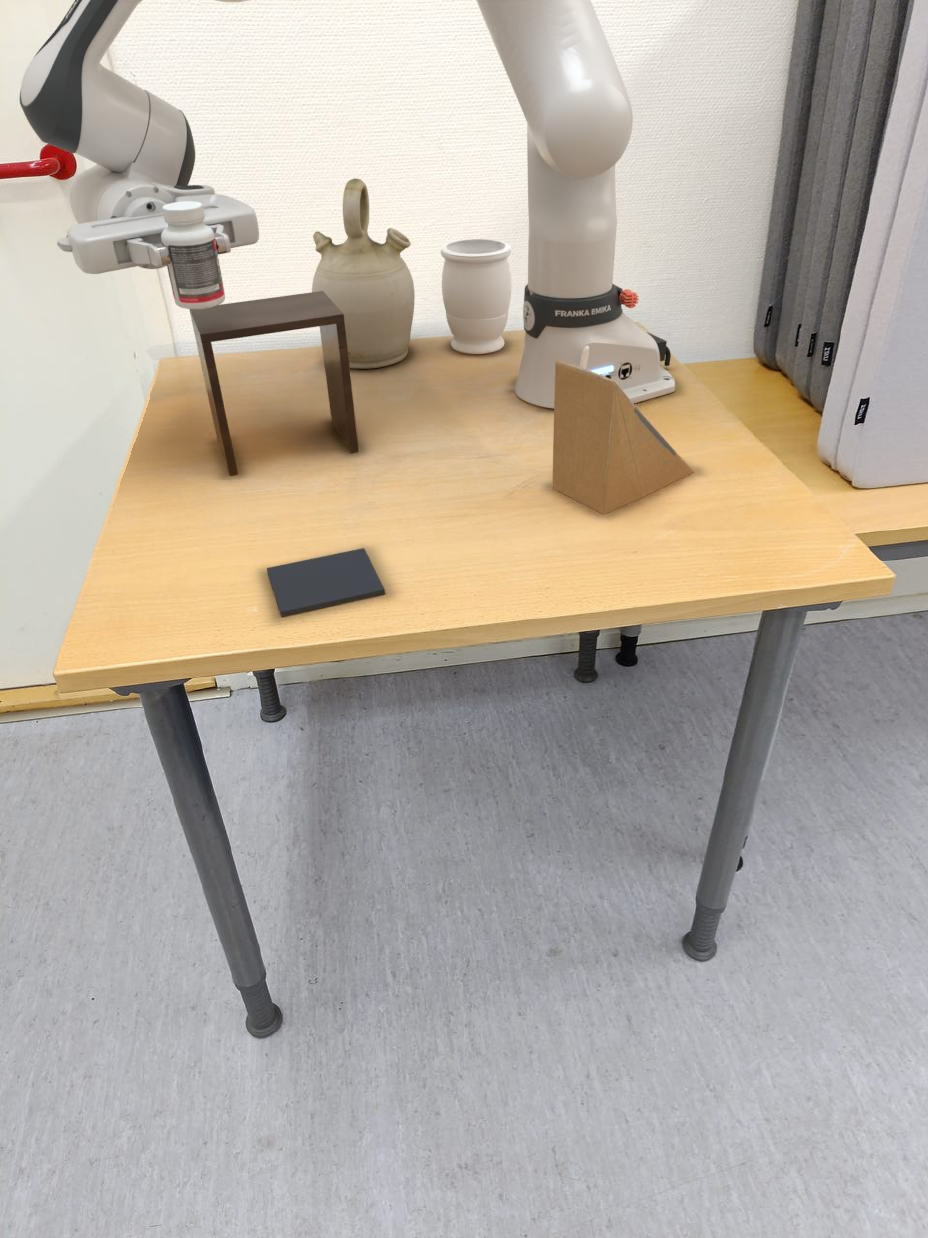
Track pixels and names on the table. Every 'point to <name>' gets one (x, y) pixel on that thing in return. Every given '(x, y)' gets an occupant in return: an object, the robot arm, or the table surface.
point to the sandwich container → (606, 443)
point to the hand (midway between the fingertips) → (194, 250)
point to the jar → (476, 293)
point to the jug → (367, 285)
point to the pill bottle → (192, 257)
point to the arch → (273, 319)
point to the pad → (324, 582)
